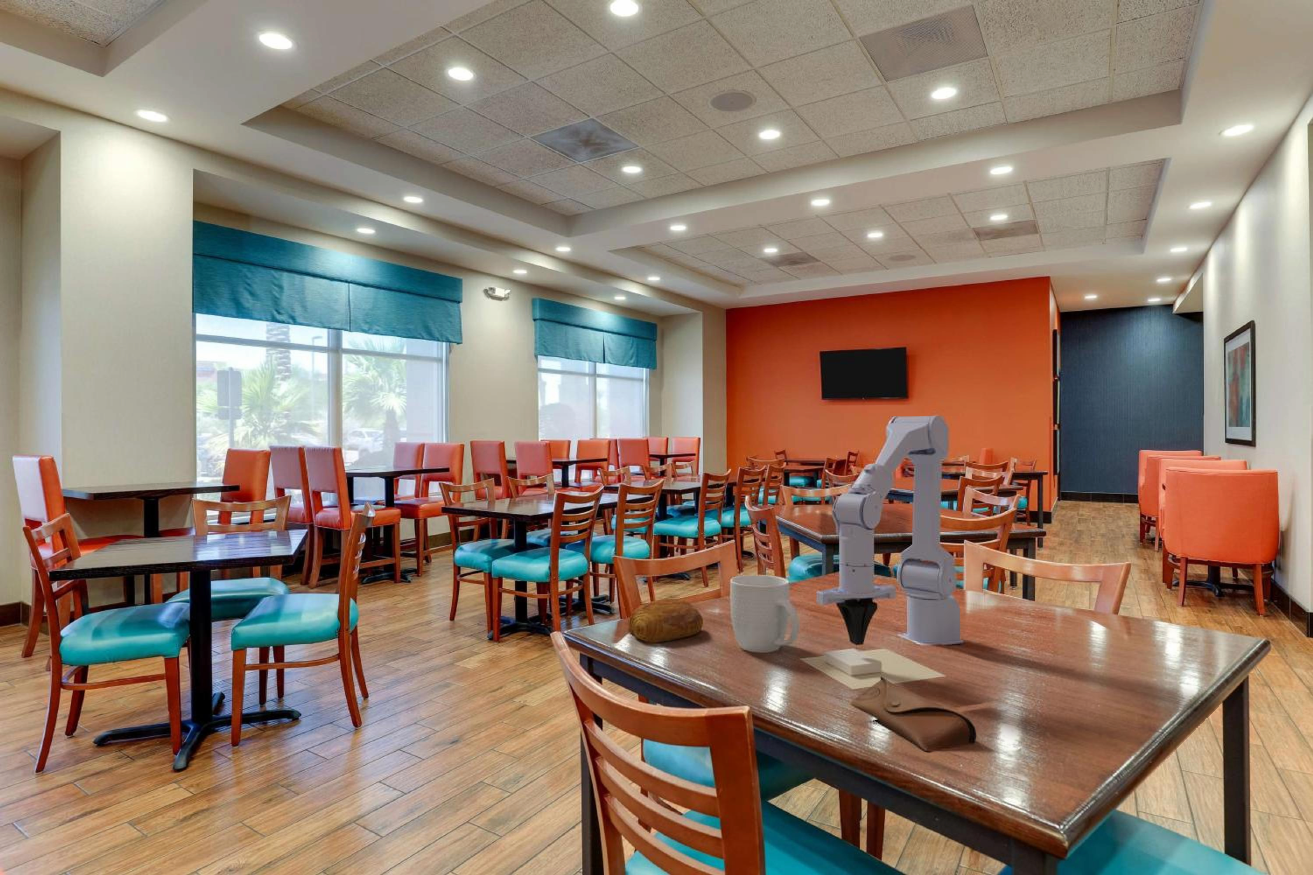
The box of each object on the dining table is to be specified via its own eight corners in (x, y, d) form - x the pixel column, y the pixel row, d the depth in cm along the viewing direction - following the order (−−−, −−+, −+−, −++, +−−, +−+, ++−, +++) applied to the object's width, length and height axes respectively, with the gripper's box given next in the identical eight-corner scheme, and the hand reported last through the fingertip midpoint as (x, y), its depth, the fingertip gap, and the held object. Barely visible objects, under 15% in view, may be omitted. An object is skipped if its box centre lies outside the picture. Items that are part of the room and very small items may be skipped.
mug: (818, 656, 129) (817, 584, 129) (775, 668, 122) (775, 592, 122) (759, 637, 141) (759, 572, 141) (718, 647, 134) (717, 578, 134)
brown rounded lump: (713, 646, 143) (718, 606, 143) (649, 648, 134) (655, 606, 135) (672, 628, 155) (677, 591, 155) (611, 629, 146) (616, 590, 147)
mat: (884, 651, 132) (884, 648, 132) (946, 679, 117) (946, 675, 117) (799, 662, 126) (799, 658, 126) (852, 692, 111) (852, 689, 111)
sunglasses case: (838, 704, 106) (856, 662, 107) (870, 721, 108) (888, 681, 110) (928, 753, 89) (949, 704, 91) (964, 773, 92) (983, 724, 93)
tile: (853, 648, 126) (824, 651, 124) (881, 661, 118) (851, 665, 116) (853, 658, 126) (824, 661, 124) (881, 672, 118) (851, 676, 116)
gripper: (877, 557, 128) (877, 632, 128) (807, 562, 123) (807, 640, 123) (903, 564, 121) (903, 643, 121) (829, 569, 116) (830, 652, 116)
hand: (856, 643), depth 121 cm, fingers closed
